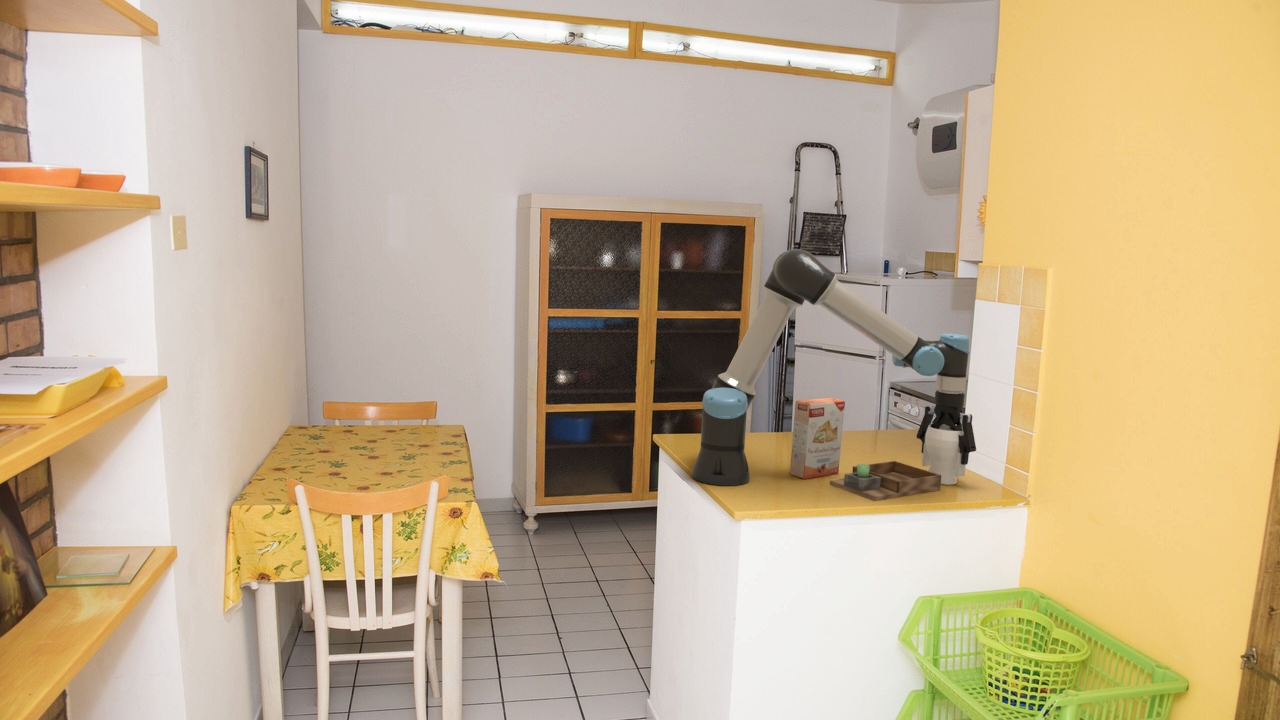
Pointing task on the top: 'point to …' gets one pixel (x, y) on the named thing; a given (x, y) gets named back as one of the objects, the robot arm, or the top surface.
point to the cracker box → (817, 437)
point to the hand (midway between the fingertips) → (942, 470)
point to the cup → (943, 452)
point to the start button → (863, 470)
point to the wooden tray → (889, 481)
